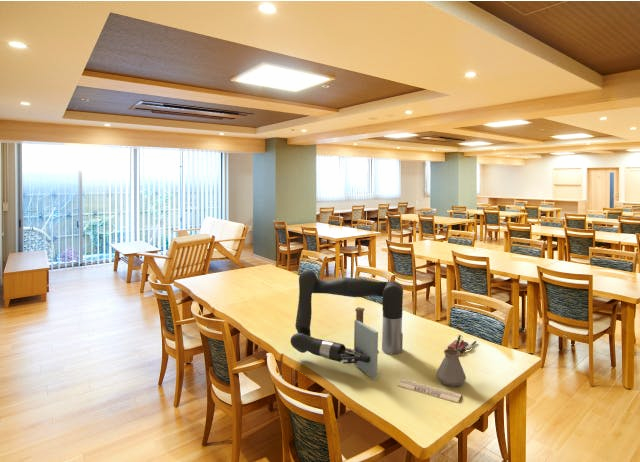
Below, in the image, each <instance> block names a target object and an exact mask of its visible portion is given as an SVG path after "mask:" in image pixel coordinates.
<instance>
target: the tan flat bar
mask: <svg viewBox="0 0 640 462" xmlns="http://www.w3.org/2000/svg"><path fill="white" fill-rule="evenodd" d="M397 387H400V388H403V389H407V390H410V391H414V392H418V393H421V394H425V395H428V396H432V397H435V398H438V399H442V400H446V401H450V402H452V401H453V403H456V402H457V403H456V404H459V402H460V398H461V397H462V396H461V395H462V394H460V393H457V392H453V391H449V390H445V389H442V388H438V387H434V386H430V385H427V384H423V383H420V382H416V381H413V380H408V379H406V378H401V379H400V380H399V381H398V384H397Z"/></svg>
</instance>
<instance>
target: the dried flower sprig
mask: <svg viewBox="0 0 640 462" xmlns="http://www.w3.org/2000/svg"><path fill="white" fill-rule="evenodd" d="M457 340H458V339H456V340H454V341H452V343H450V344H449V345H448V346H447V348H446V349H454V350H455V345H456V342H457ZM464 340H465V339H463V338H462V339H460V341H459V345H458V348H457V351H459V352H460V353H461V355H462V354H463V353H465V352H464V351H466V350H470V349H471V348H474V346H475V345H476V343H477V340H474V341H473V342H472V343H471V344H469V343H468V342H467V341H464ZM470 351H471V350H470Z"/></svg>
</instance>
